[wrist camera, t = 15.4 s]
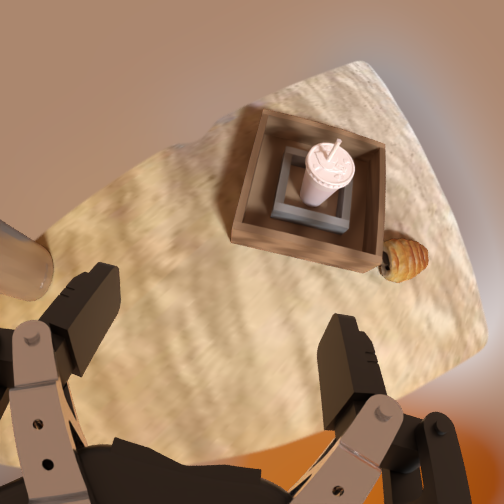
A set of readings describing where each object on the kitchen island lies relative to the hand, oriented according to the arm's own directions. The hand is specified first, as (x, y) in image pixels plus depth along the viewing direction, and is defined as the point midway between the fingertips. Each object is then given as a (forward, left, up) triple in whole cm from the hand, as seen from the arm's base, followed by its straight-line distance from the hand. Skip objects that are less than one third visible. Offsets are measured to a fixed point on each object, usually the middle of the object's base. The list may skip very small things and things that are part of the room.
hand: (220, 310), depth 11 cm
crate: (+8, +22, -31) cm, 39 cm away
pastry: (+24, +15, -31) cm, 42 cm away
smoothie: (+8, +22, -30) cm, 38 cm away
